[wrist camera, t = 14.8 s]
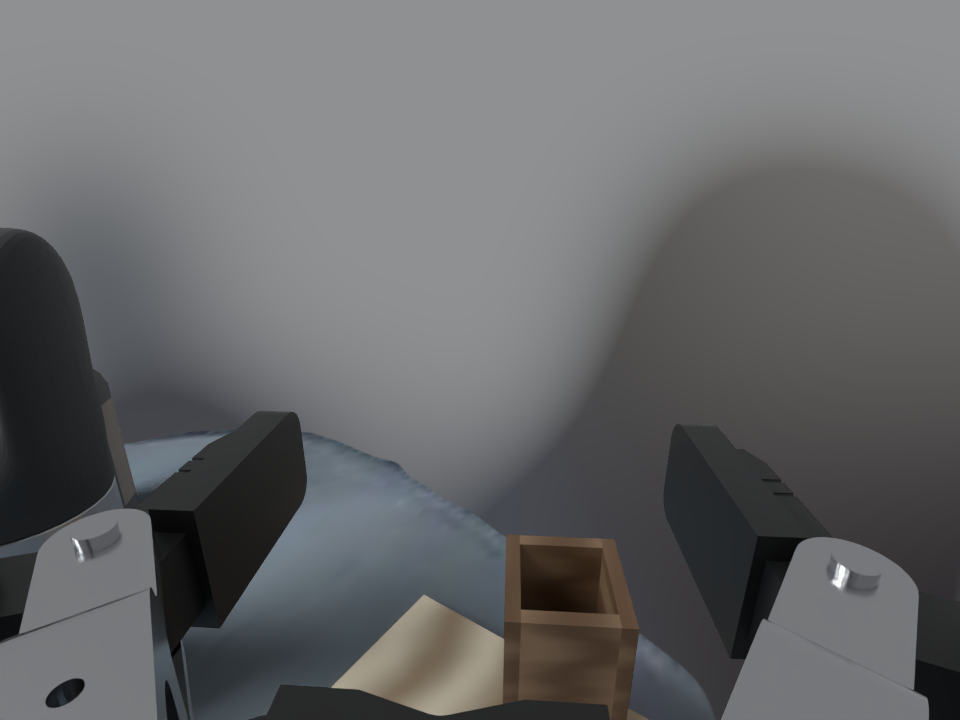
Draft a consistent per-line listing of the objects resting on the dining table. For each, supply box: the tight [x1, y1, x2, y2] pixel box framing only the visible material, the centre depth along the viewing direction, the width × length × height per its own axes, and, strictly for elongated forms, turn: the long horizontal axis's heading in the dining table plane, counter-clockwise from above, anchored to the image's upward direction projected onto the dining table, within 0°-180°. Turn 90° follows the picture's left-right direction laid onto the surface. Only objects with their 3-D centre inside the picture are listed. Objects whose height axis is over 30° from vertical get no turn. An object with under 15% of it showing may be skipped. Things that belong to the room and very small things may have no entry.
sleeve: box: [503, 535, 639, 720], centre depth 29 cm, size 6×6×14 cm
